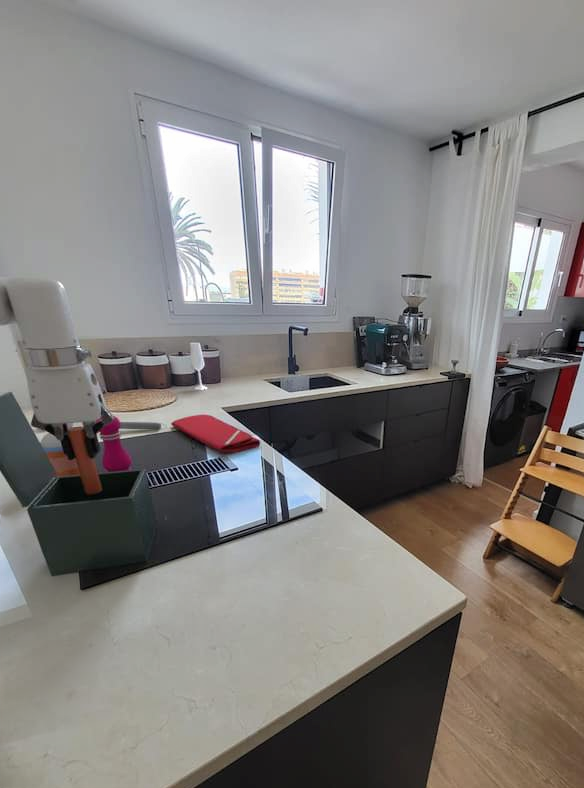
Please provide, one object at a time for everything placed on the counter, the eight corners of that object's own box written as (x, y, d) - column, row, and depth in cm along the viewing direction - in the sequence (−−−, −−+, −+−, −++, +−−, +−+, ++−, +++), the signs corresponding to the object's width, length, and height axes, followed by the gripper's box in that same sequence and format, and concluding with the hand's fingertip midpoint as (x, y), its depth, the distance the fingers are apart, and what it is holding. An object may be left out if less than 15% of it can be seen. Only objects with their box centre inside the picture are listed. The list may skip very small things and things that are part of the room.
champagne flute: (201, 390, 212) (195, 344, 202) (192, 389, 214) (185, 343, 204) (210, 387, 217) (204, 343, 208) (200, 386, 219) (194, 342, 210)
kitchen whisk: (165, 431, 150) (162, 415, 148) (66, 436, 144) (61, 419, 141) (168, 426, 156) (166, 411, 153) (73, 430, 149) (69, 414, 147)
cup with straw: (43, 478, 112) (23, 417, 105) (78, 467, 119) (62, 410, 112) (56, 487, 107) (36, 424, 100) (93, 475, 114) (76, 416, 107)
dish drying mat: (209, 419, 166) (208, 410, 164) (261, 445, 140) (261, 435, 138) (171, 427, 155) (169, 418, 154) (220, 457, 129) (219, 446, 128)
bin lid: (11, 391, 73) (6, 392, 72) (-31, 411, 61) (-37, 413, 61) (57, 474, 80) (53, 475, 80) (28, 506, 69) (23, 507, 68)
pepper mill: (124, 469, 119) (108, 405, 111) (140, 474, 116) (125, 408, 108) (100, 478, 113) (82, 411, 105) (116, 483, 110) (99, 415, 102)
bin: (157, 526, 91) (145, 468, 85) (147, 561, 79) (131, 497, 73) (75, 536, 87) (56, 476, 81) (51, 576, 75) (26, 509, 69)
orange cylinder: (83, 495, 76) (64, 431, 70) (88, 488, 78) (70, 426, 73) (99, 493, 77) (82, 430, 71) (103, 487, 79) (87, 425, 74)
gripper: (115, 353, 72) (135, 446, 80) (9, 355, 68) (41, 453, 75) (104, 360, 66) (127, 460, 73) (-14, 362, 61) (24, 468, 69)
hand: (83, 455), depth 74 cm, fingers closed on orange cylinder, 2 cm apart
